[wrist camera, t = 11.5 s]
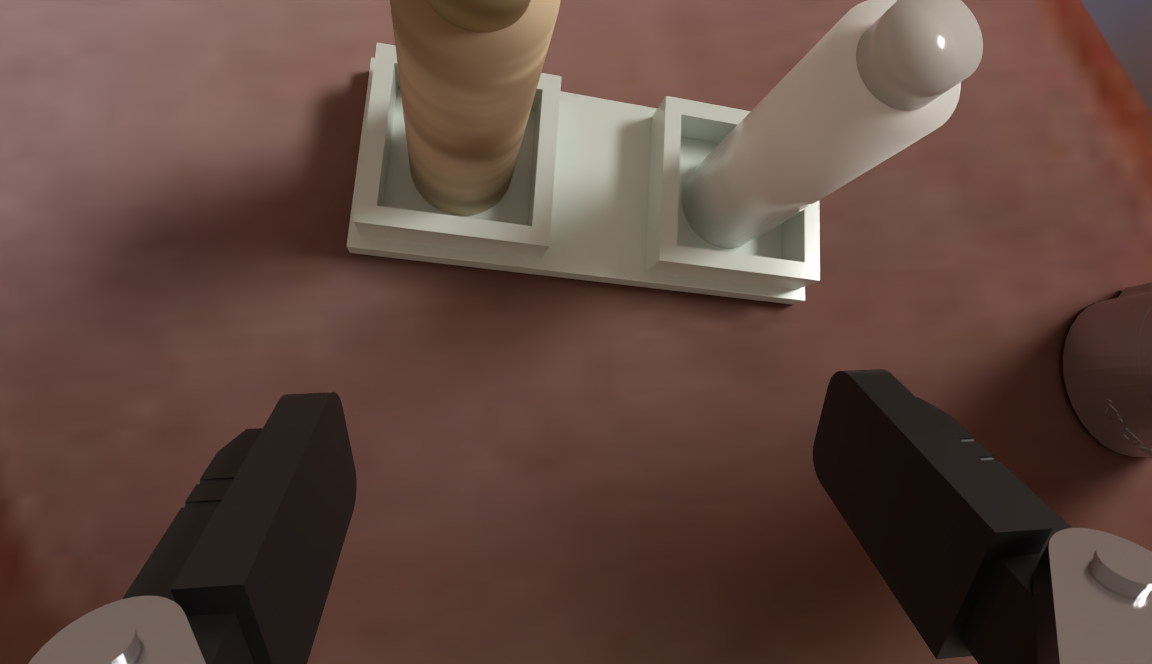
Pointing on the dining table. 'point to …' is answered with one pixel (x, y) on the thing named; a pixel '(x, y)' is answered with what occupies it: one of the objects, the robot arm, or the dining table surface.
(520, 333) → the dining table surface
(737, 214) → the salt mill
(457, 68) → the pepper mill
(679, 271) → the stand
